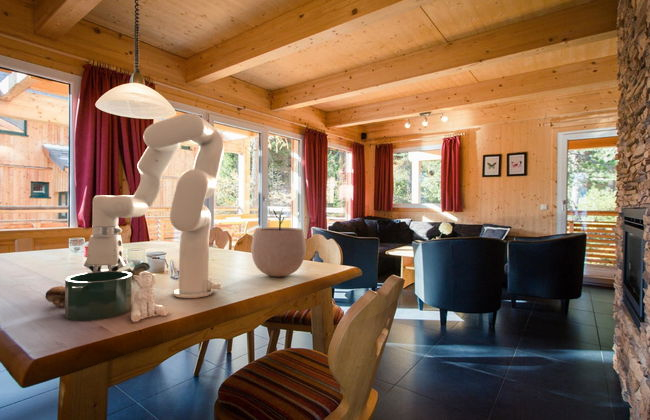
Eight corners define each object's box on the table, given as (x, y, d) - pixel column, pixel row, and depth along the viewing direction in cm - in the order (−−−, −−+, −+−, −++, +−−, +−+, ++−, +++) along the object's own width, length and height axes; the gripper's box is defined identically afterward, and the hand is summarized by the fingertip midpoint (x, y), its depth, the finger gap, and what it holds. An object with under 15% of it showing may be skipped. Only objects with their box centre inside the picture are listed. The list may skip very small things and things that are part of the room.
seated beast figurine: (132, 323, 90) (133, 276, 90) (119, 315, 95) (120, 272, 95) (168, 315, 97) (169, 272, 97) (155, 308, 103) (155, 267, 102)
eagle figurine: (146, 278, 137) (154, 270, 146) (134, 264, 136) (144, 256, 145) (129, 288, 138) (139, 279, 146) (118, 274, 136) (128, 266, 145)
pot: (144, 301, 110) (145, 269, 110) (108, 324, 89) (108, 284, 89) (92, 301, 109) (93, 269, 109) (43, 324, 88) (44, 284, 88)
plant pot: (314, 273, 161) (315, 208, 161) (288, 283, 139) (289, 208, 139) (270, 268, 171) (271, 207, 171) (239, 277, 149) (240, 207, 149)
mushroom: (56, 300, 98) (61, 279, 101) (34, 308, 99) (40, 288, 103) (82, 307, 104) (86, 287, 108) (61, 315, 106) (66, 295, 109)
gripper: (135, 231, 123) (134, 283, 123) (87, 230, 122) (86, 282, 122) (124, 233, 116) (123, 288, 116) (73, 232, 115) (72, 287, 115)
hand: (104, 284), depth 119 cm, fingers closed on lid, 2 cm apart
